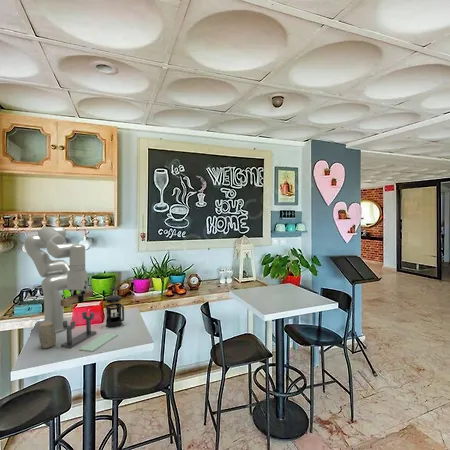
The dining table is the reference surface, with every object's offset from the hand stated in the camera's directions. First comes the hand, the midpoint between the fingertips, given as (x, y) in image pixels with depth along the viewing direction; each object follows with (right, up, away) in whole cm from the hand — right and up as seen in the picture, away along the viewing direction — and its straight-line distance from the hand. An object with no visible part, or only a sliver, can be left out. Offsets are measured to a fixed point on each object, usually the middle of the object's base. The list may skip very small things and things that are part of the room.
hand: (77, 301), depth 157 cm
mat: (+13, -21, -3) cm, 24 cm away
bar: (0, +1, 0) cm, 1 cm away
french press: (+12, -20, +22) cm, 32 cm away
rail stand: (+1, -21, 0) cm, 21 cm away
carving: (-12, -21, -7) cm, 25 cm away
